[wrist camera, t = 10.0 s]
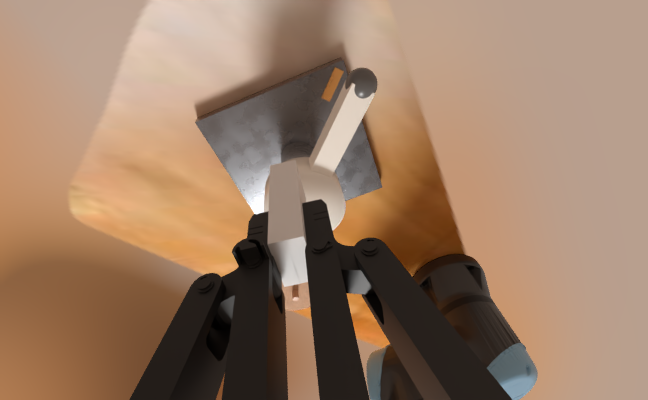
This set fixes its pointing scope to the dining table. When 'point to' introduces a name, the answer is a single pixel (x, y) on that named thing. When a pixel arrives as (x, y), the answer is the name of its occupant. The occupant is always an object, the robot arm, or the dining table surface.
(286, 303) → the lidded jar
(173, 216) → the dining table surface
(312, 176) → the coupling lever handle
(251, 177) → the base
